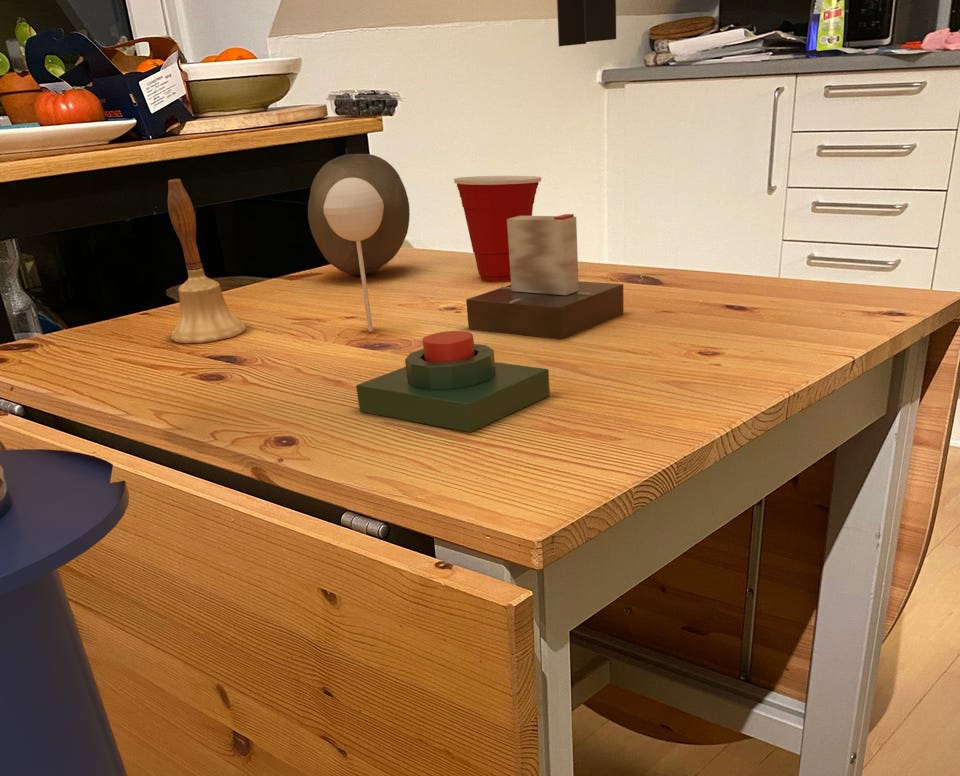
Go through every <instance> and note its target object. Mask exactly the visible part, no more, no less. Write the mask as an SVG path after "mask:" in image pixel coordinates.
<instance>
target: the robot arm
mask: <svg viewBox="0 0 960 776" xmlns="http://www.w3.org/2000/svg"><path fill="white" fill-rule="evenodd" d="M556 8H557V9H556V11H557V37H558V40H557V41H558V47H567V46H577V45H586V44H587V43H590V42H591V43H592V42H593V43H594V42H601V41H602V42H603V41H611V40H617V0H556ZM11 502H12V501H11V496H10V493H9V490H8V488H7V485H6V482H5V479H4V477H3V468H2V467H1V465H0V518H1V517H2V516H3V515H4V514H5V513H6V512H7V511H8V509H9V508H10V506H11Z"/></svg>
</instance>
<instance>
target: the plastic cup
mask: <svg viewBox="0 0 960 776" xmlns="http://www.w3.org/2000/svg"><path fill="white" fill-rule="evenodd" d="M542 178H543V177H542V176H535V175H478V176H477V175H476V176H462V177H455V178H453V182H454V184H456V187H457V190H458V193H459V198H460V200H461V201H460V202H461V206H462V208H463V212H464V217H465V221H466V226H467V230H468V231H467V232H468V235H469V240H470V243H471V248H472V252H473V254H474V258H475V261H476V262H475V263H476V266H477V272H478V275H479V278H480V280H481V281H482V282H491V283H493V282H494V283H495V282H496V283H499V282H509V281H510V282H511V275H510V260H509V244H508V229H507V219H509V218H513V217H517V216H533V208H534V204H535V198H536V195H537V190H538V186H539V183H540V182H542Z"/></svg>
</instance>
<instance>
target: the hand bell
mask: <svg viewBox="0 0 960 776" xmlns="http://www.w3.org/2000/svg"><path fill="white" fill-rule="evenodd" d="M167 184H168V186H167V187H168V188H167V189H168V191H167V210H168V214H169V219H170V221H171V225H172V227H173V230H174V231H175V233H176V235H177V237H178V239H179V241H180V244H181V247H182V248H181V249H182V253H183V256H184V257H183V258H184V261H185V268H186V270H187V275H188V278H187V280H185V282H184V283H182V284H181V285H180V286H179V287H178V296H179V297H178V298H179V315H178V316H179V317H178V321H177V324H176V326H175V328H174V329H173V331H172V333H171V336H170V338H171V341H173V342H175V343H180V344H203V343H211V342H217V341H222V340H226V339H230V338H233V337H236V336H239V335H240V334H243V333H244V332H245V331H246V329H247V328H246V325H245V324H244V322H242V321H241V320H240V319H238V318H237V317H236V316H235V315H234V313H232V311H231V310H230V308H229V306H228V303H227V302H226V300H225V297H224V295H223V291H222V289H221V285H220V283H219V282H218V281H216V280H214V279H212V278H210V277H207V276H206V275H205V271H204V268H203V263H202V262H201V257H200V256H201V255H200V253H199V249H198V245H197V221H196V220H197V219H196V214H195V213H196V212H195V209H194V205H193V203H192V200H191V197H190V196H189V194H188V192H187V191H186V189H185V187H184V185H183V182H182V180H181V179H180V178H174V179H169V180H168V181H167Z"/></svg>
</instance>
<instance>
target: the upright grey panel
mask: <svg viewBox="0 0 960 776" xmlns="http://www.w3.org/2000/svg"><path fill="white" fill-rule="evenodd" d="M577 227H578V226H577V216H575V214H574V213H564V214H561V215H532V216H517V217H513V218H509V219H507V229H508V244H509V260H510V275H511V280H510V285H511V290H512V291H515V292H528V293H541V294H554V295H569V294H571V293H574V292H577V291H579V287H578V281H579V262H578V261H579V259H578V258H579V257H578V230H577V229H578V228H577Z"/></svg>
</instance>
